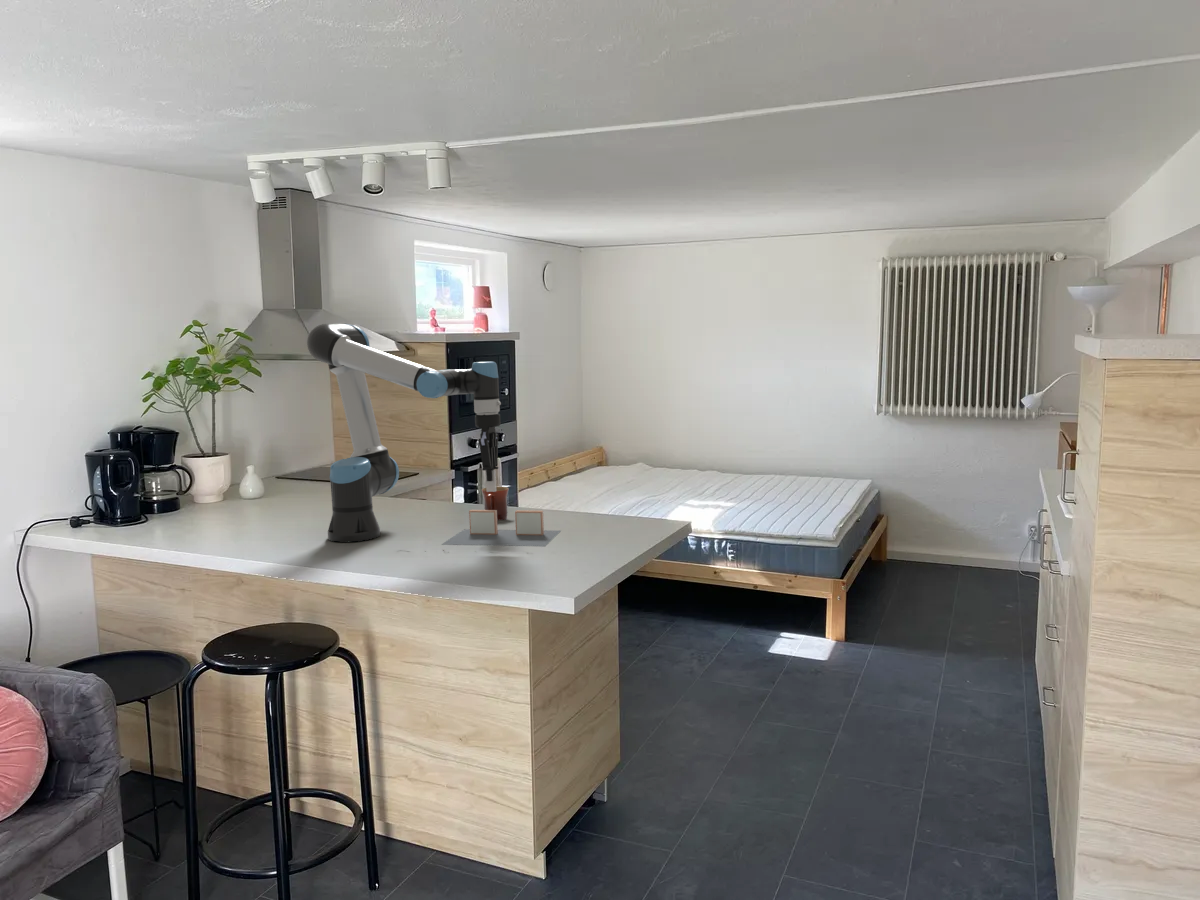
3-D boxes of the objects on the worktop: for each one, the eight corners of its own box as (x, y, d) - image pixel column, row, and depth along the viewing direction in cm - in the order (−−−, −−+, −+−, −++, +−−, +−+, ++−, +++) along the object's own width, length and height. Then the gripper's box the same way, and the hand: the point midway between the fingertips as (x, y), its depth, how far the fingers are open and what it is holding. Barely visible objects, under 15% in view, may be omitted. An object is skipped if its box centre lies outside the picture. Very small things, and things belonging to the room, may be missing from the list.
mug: (487, 517, 289) (486, 486, 287) (513, 517, 287) (512, 486, 286) (475, 524, 277) (474, 492, 276) (501, 525, 275) (500, 493, 274)
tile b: (515, 535, 255) (514, 511, 254) (517, 533, 257) (516, 510, 256) (542, 535, 253) (541, 511, 253) (543, 534, 255) (543, 510, 254)
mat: (441, 548, 245) (441, 544, 245) (464, 532, 265) (464, 529, 265) (545, 550, 240) (545, 546, 240) (561, 534, 260) (561, 530, 260)
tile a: (469, 534, 257) (468, 510, 256) (471, 532, 259) (470, 509, 258) (496, 534, 256) (495, 511, 255) (497, 533, 258) (496, 510, 257)
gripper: (493, 415, 254) (497, 495, 257) (505, 411, 267) (509, 487, 270) (468, 415, 255) (472, 495, 258) (482, 412, 268) (486, 487, 271)
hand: (491, 491), depth 264 cm, fingers closed
